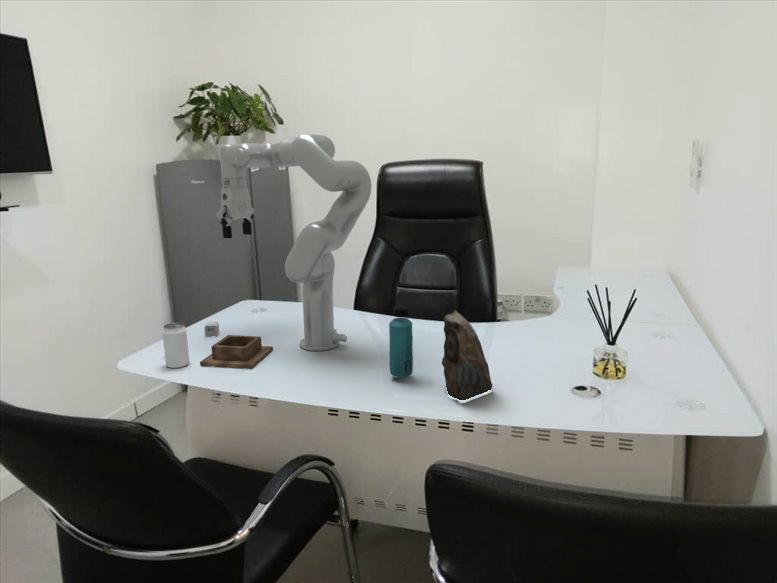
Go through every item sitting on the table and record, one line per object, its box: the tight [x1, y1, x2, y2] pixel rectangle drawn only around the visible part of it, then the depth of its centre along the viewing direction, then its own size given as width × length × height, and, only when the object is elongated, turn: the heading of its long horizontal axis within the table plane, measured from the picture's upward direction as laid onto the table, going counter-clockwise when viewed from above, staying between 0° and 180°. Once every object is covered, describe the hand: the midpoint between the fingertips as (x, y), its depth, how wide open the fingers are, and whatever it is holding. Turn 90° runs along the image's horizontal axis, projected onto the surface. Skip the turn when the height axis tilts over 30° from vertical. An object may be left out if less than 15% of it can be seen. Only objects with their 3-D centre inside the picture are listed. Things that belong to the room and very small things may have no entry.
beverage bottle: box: [388, 305, 414, 378], centre depth 145 cm, size 6×7×20 cm
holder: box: [199, 334, 274, 370], centre depth 163 cm, size 16×16×5 cm
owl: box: [441, 310, 493, 400], centre depth 136 cm, size 13×13×20 cm
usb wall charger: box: [204, 321, 220, 337], centre depth 187 cm, size 4×7×4 cm, turn 9°
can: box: [162, 322, 190, 369], centre depth 157 cm, size 6×6×12 cm
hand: (237, 236), depth 180 cm, fingers open, 9 cm apart
